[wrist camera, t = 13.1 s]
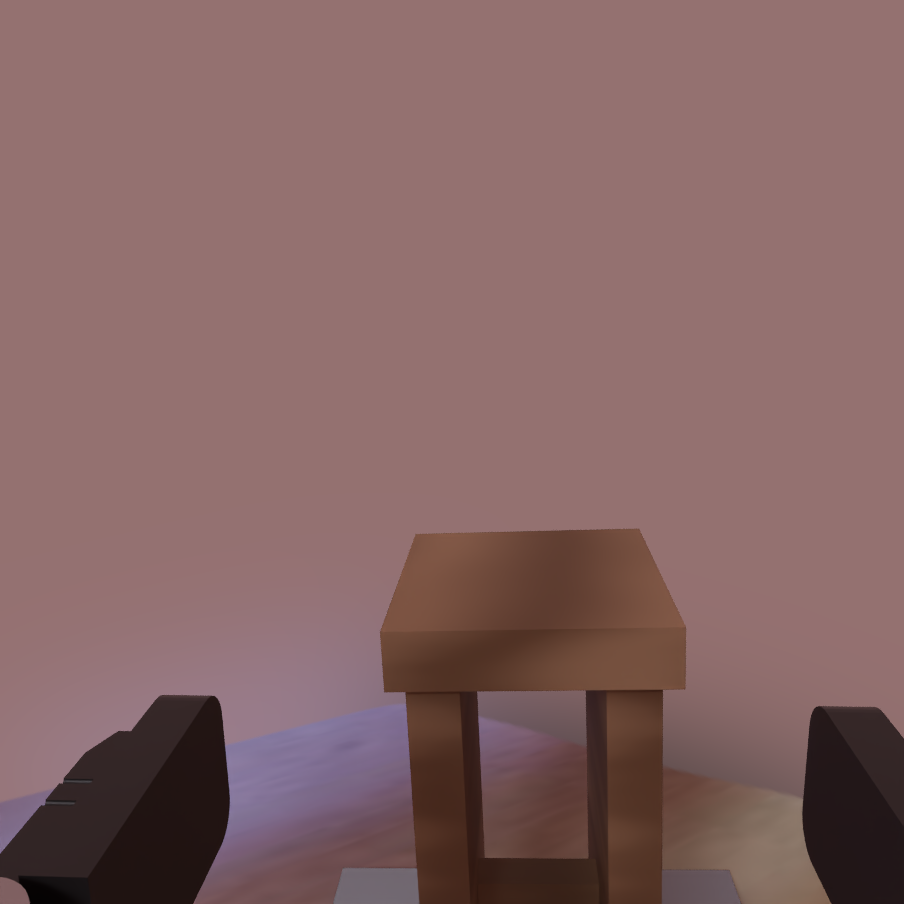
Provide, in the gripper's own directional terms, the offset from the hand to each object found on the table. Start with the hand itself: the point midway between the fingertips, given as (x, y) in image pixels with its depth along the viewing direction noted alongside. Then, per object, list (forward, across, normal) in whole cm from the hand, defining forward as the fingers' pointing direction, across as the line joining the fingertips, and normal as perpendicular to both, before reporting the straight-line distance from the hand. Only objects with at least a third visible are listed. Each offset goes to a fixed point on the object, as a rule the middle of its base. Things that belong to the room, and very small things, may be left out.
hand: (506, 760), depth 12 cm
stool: (+9, -1, +15) cm, 18 cm away
